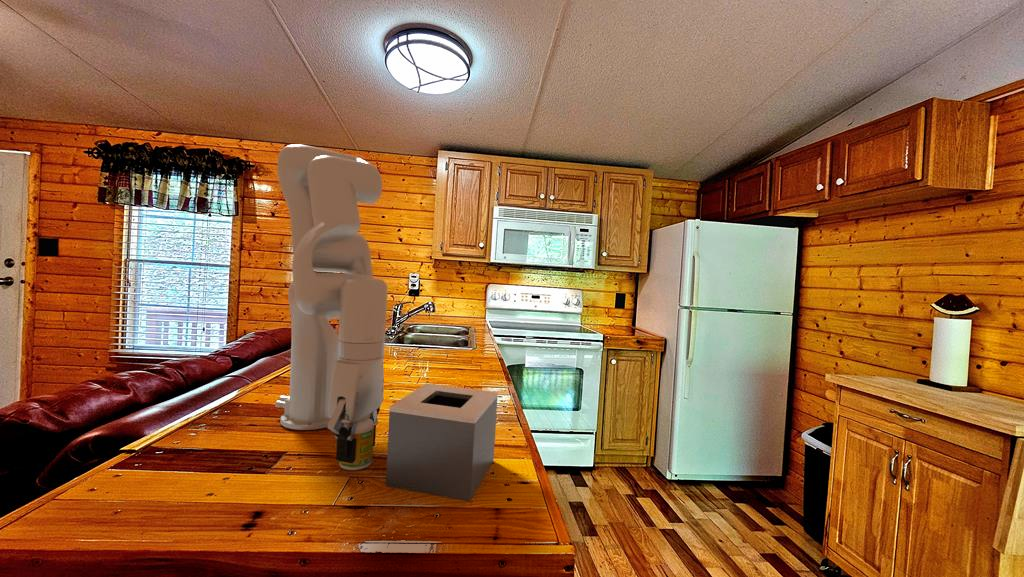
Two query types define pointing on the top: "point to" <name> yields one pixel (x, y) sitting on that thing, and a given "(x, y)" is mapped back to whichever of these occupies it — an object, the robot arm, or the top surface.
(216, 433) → the top surface
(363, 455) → the supplement bottle
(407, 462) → the box
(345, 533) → the top surface
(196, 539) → the top surface
